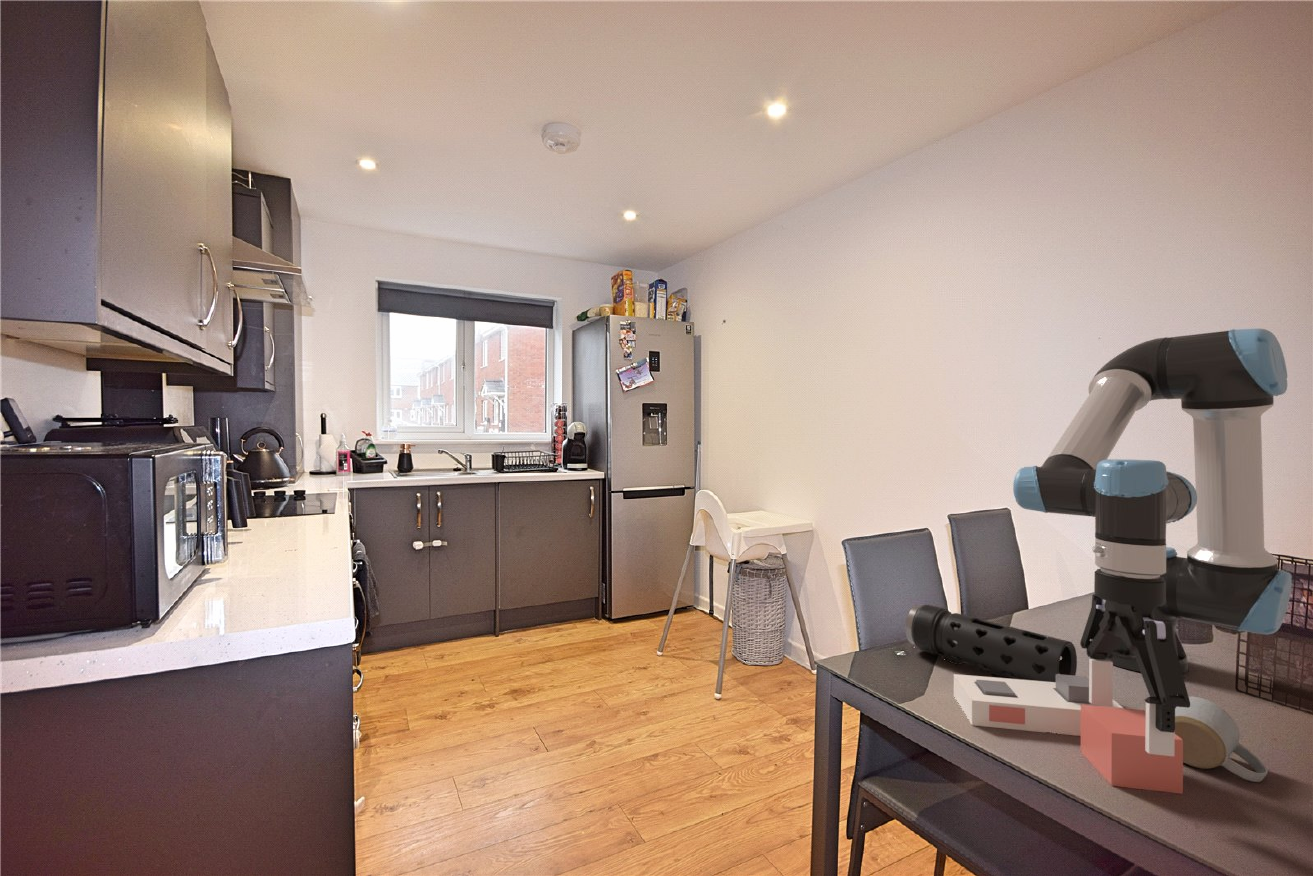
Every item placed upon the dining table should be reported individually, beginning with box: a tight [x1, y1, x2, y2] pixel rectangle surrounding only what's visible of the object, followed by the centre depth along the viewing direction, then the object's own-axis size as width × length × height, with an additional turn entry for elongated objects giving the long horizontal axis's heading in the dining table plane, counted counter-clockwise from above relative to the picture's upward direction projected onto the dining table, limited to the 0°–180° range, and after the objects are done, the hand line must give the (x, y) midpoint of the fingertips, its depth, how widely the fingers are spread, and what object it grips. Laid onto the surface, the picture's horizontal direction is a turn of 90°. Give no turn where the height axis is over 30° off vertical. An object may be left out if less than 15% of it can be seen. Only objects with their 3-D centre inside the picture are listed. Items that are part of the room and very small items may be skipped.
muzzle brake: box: [904, 604, 1078, 682], centre depth 111 cm, size 10×28×10 cm, turn 36°
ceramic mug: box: [1175, 695, 1269, 783], centre depth 80 cm, size 11×8×8 cm
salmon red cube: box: [1080, 705, 1184, 795], centre depth 78 cm, size 8×8×7 cm
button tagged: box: [976, 680, 1015, 697], centre depth 94 cm, size 4×4×4 cm
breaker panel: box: [953, 673, 1124, 737], centre depth 93 cm, size 22×10×4 cm, turn 77°
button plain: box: [1056, 674, 1091, 704], centre depth 92 cm, size 4×4×4 cm
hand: (1127, 727), depth 78 cm, fingers open, 13 cm apart
